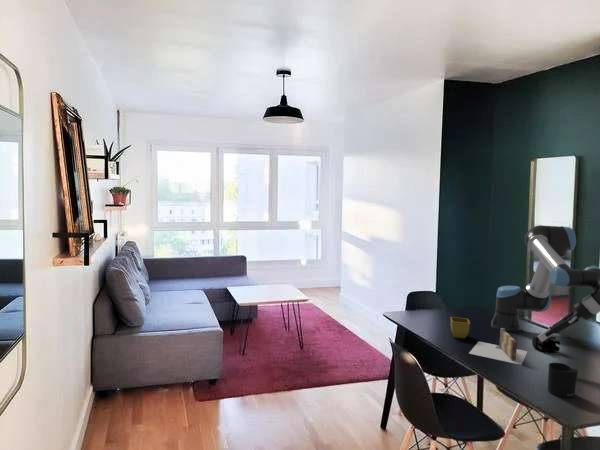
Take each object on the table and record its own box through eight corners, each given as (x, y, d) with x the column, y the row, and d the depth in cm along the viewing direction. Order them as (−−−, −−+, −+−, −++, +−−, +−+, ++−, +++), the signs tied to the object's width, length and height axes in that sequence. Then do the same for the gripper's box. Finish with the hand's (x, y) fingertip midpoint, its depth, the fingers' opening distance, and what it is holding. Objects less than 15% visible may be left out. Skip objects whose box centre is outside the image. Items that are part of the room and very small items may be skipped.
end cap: (550, 348, 228) (551, 335, 227) (560, 353, 221) (561, 339, 220) (531, 348, 227) (532, 334, 226) (540, 353, 220) (541, 339, 219)
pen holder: (548, 395, 172) (550, 369, 172) (545, 386, 181) (547, 361, 180) (577, 400, 169) (580, 373, 168) (572, 390, 178) (575, 365, 177)
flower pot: (469, 340, 234) (470, 323, 233) (450, 338, 236) (452, 321, 235) (466, 335, 243) (467, 318, 242) (449, 333, 244) (450, 316, 244)
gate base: (478, 342, 232) (478, 340, 232) (527, 352, 221) (527, 350, 221) (468, 354, 214) (468, 352, 214) (521, 365, 202) (521, 364, 202)
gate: (498, 345, 225) (500, 327, 224) (503, 346, 225) (504, 328, 224) (511, 359, 207) (512, 339, 206) (516, 360, 206) (517, 340, 206)
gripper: (595, 318, 188) (544, 350, 197) (594, 312, 199) (547, 342, 208) (580, 303, 190) (531, 335, 200) (581, 297, 201) (534, 328, 211)
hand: (539, 338), depth 204 cm, fingers closed
